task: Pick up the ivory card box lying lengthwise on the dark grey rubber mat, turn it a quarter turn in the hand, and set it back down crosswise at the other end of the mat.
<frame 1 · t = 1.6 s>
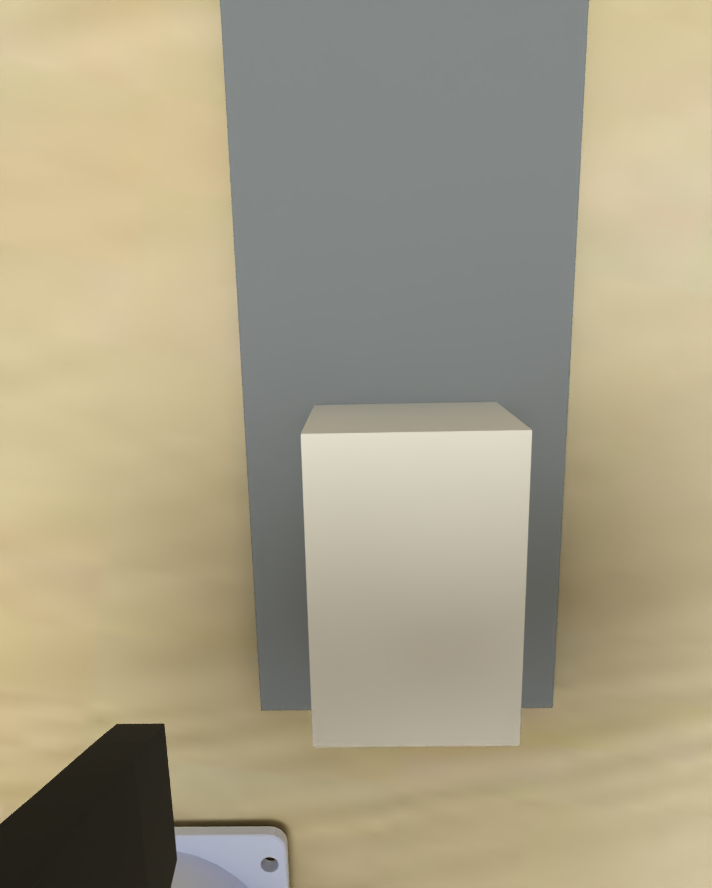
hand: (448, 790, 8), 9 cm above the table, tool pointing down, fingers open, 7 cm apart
mat: (403, 380, 17), on the table
card box: (405, 537, 17), resting on mat
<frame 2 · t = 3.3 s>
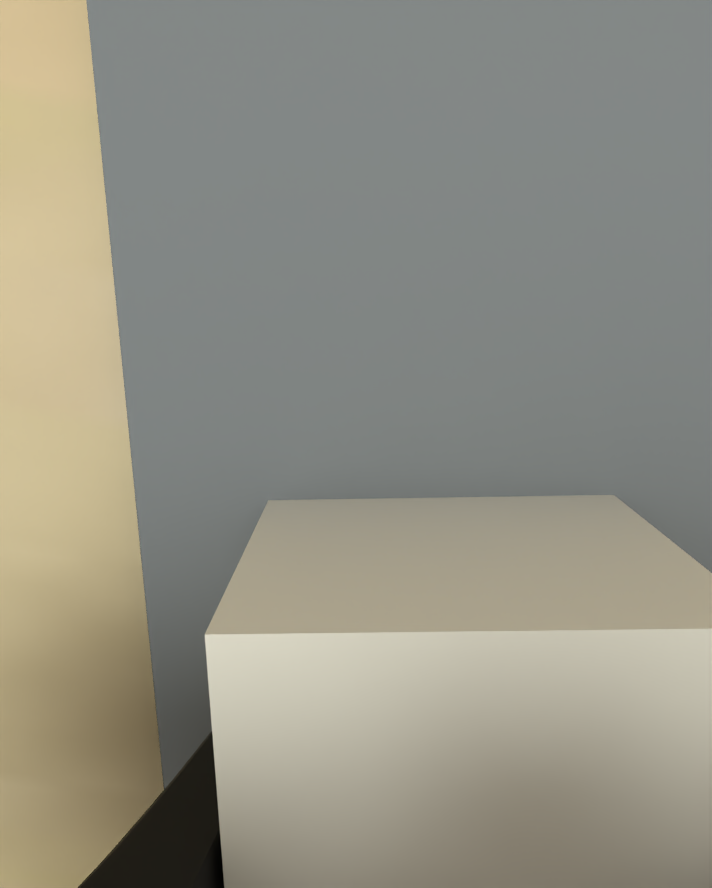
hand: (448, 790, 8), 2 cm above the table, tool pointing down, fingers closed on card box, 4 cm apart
mat: (436, 451, 9), on the table
card box: (438, 733, 9), resting on mat, touching gripper
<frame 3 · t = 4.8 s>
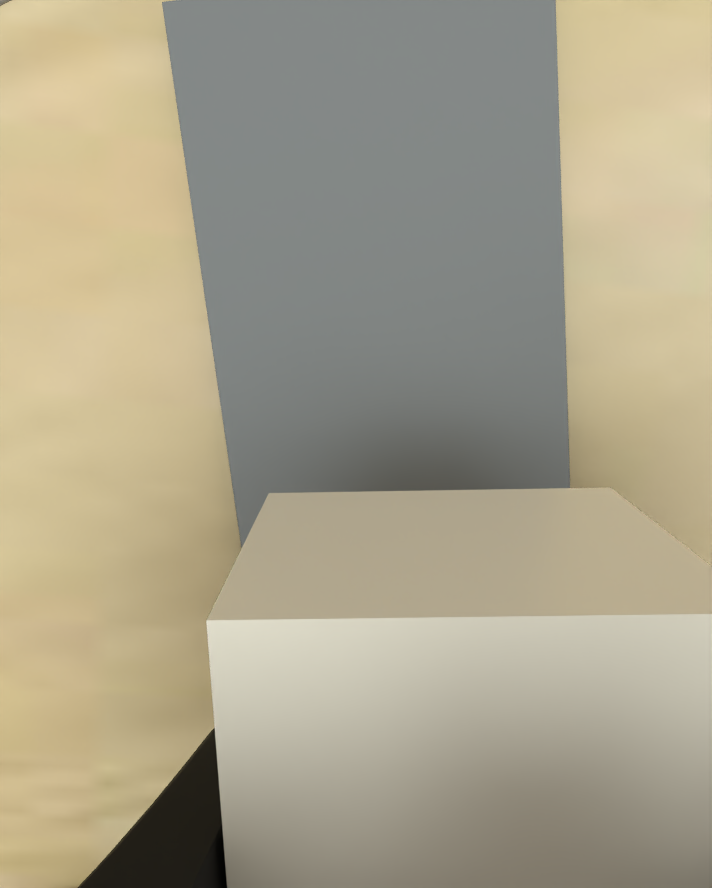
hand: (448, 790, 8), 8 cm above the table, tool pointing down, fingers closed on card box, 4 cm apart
mat: (393, 410, 16), on the table
card box: (437, 724, 9), point 7 cm above the table, touching gripper
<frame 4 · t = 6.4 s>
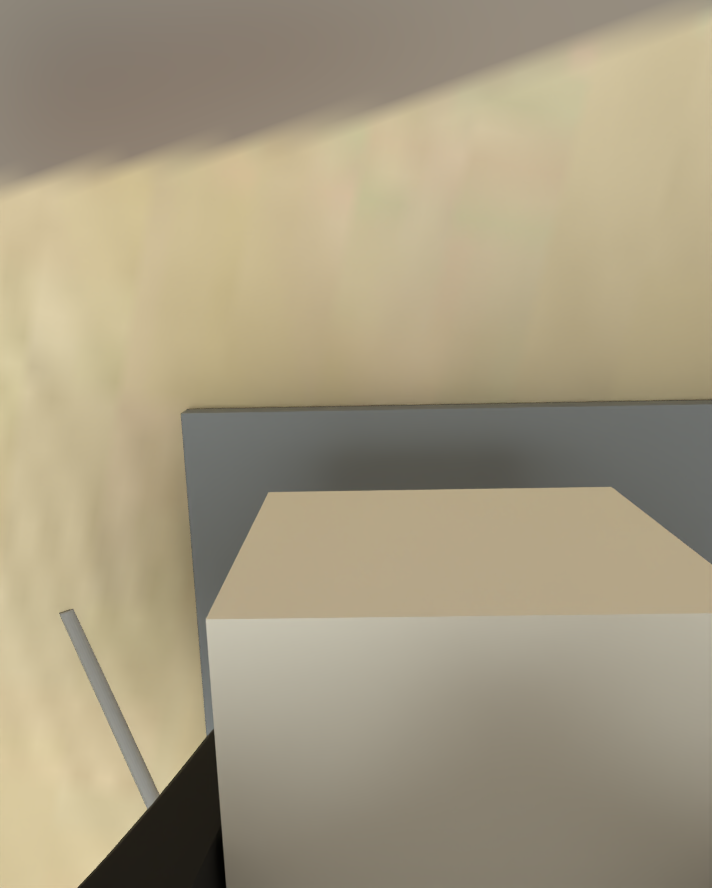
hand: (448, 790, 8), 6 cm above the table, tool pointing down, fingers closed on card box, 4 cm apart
mat: (633, 591, 14), on the table
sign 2: (201, 868, 16), on the table
card box: (437, 724, 9), point 4 cm above the table, touching gripper
when the fingers open (3 cm above the table, at t = 7.9 s): card box stays where it is, resting on mat.
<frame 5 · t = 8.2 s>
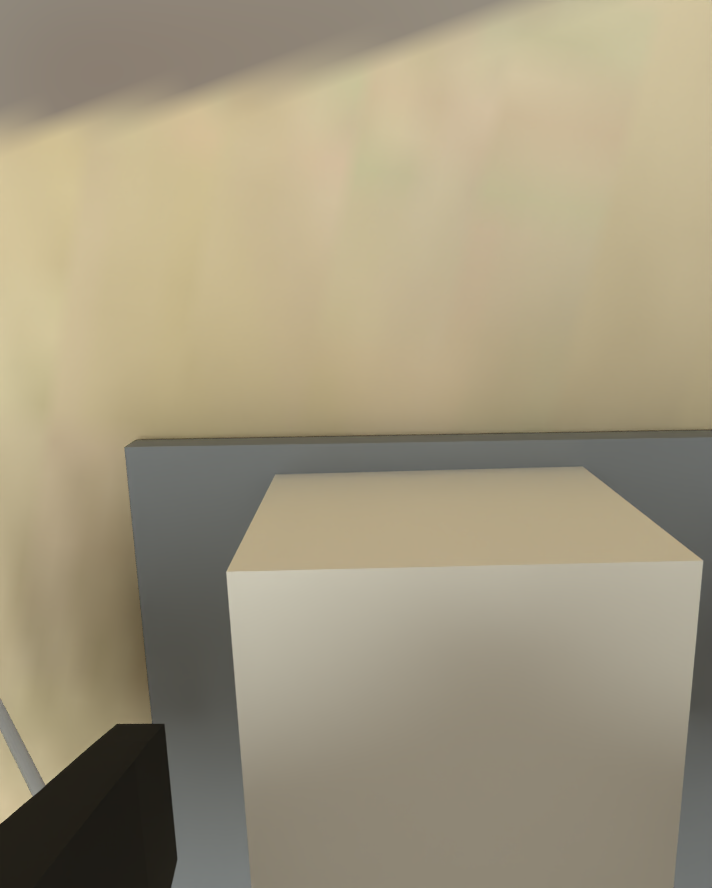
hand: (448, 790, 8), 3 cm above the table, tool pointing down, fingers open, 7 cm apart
mat: (701, 667, 11), on the table
card box: (429, 683, 10), resting on mat
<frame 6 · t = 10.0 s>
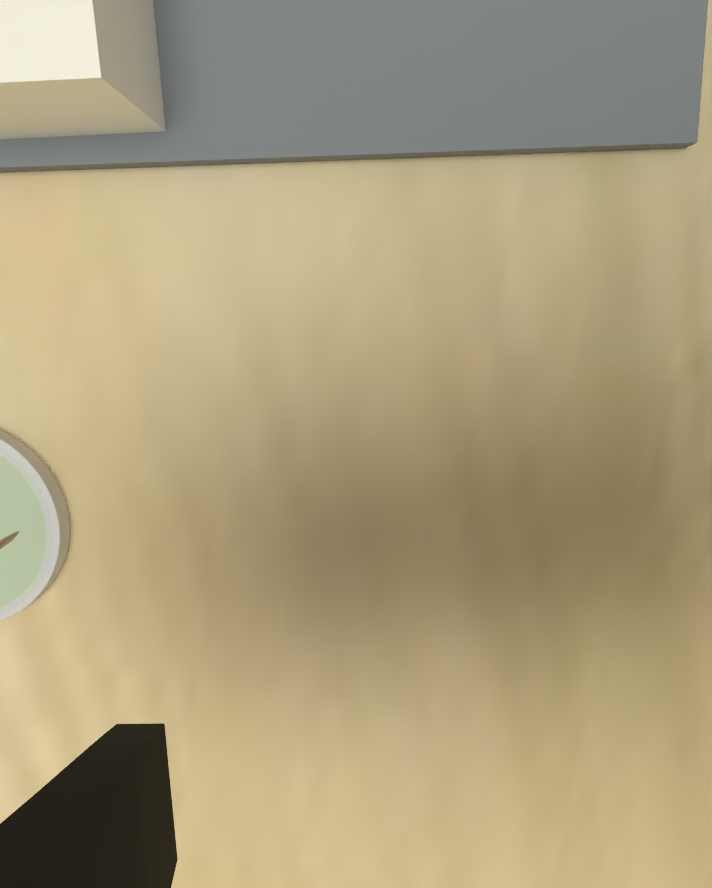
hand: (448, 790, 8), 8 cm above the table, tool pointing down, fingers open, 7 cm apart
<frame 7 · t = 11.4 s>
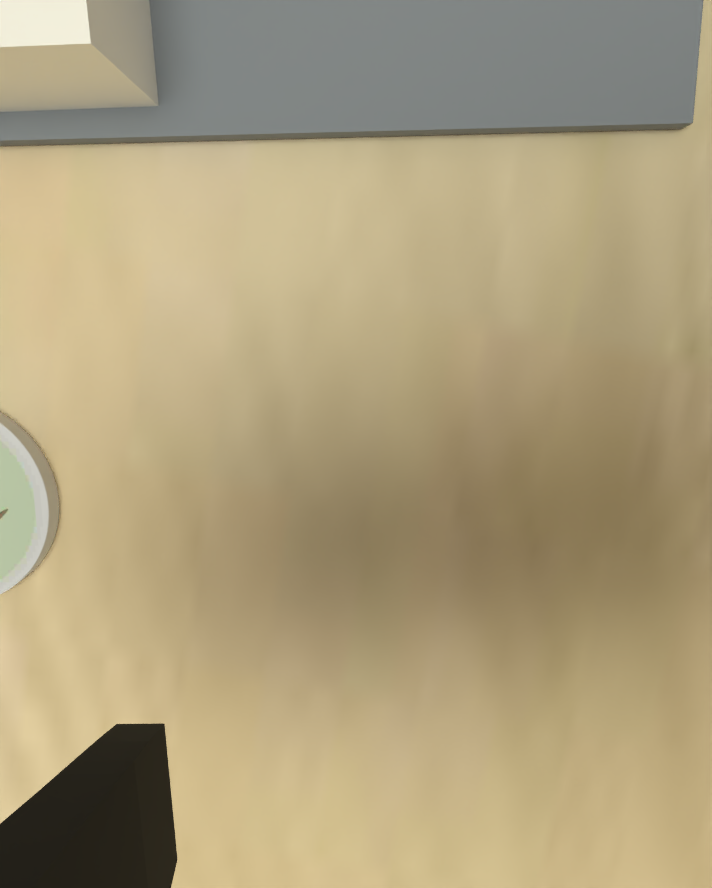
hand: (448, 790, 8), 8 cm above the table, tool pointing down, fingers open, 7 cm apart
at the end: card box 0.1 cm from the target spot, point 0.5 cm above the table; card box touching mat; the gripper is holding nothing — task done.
